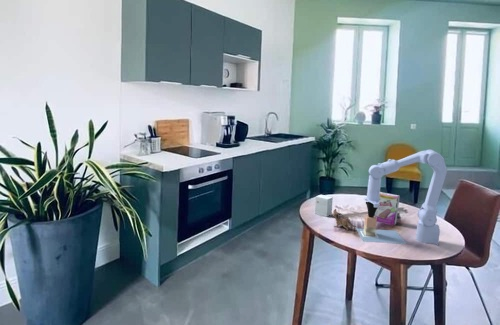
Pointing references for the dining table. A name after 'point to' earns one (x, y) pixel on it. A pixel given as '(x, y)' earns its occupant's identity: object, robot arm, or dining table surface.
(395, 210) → the candy bar box
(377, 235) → the board
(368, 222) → the terracotta block
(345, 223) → the dinosaur figurine
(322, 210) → the small box
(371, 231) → the birch block
